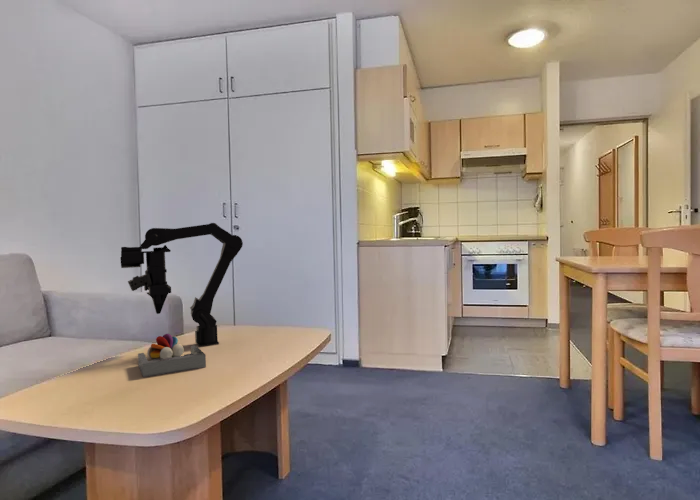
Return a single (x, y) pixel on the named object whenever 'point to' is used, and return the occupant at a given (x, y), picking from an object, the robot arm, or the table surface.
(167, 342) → the multicolored petal rattle
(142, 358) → the tray
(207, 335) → the robot arm
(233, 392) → the table surface
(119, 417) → the table surface
